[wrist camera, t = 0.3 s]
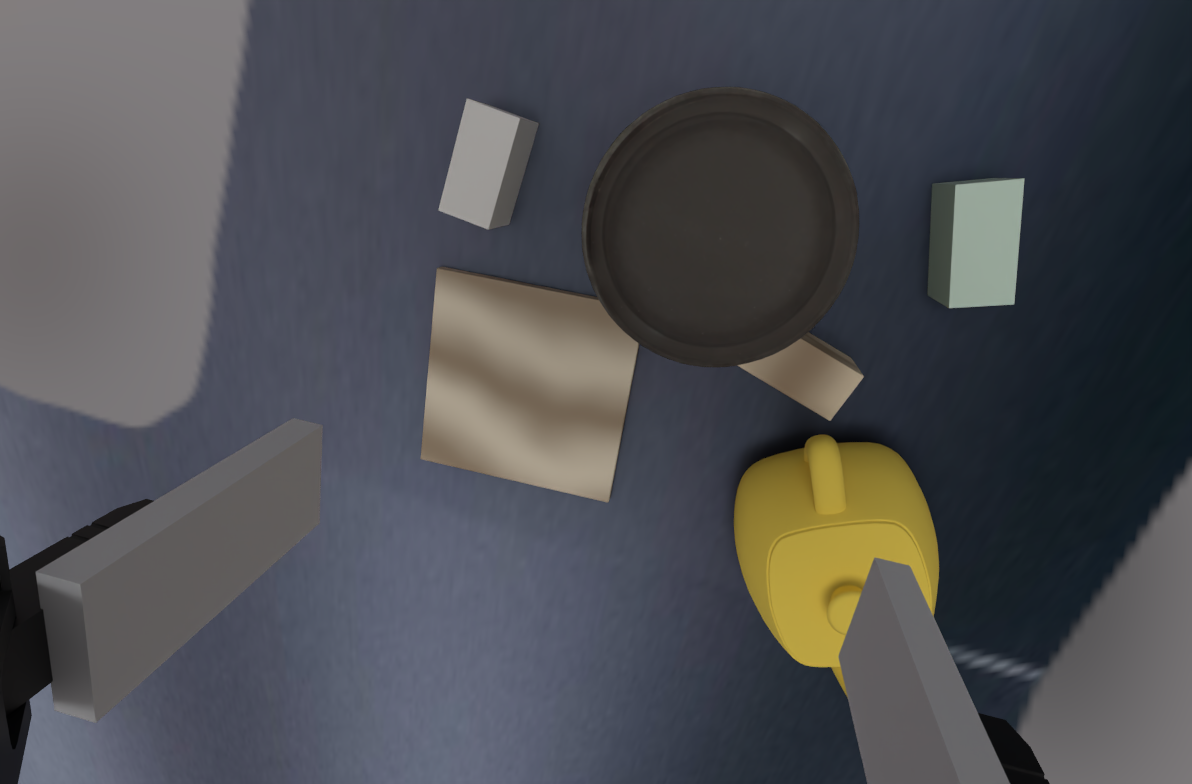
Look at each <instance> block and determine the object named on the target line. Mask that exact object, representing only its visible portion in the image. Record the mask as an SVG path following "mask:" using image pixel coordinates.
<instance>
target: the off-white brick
mask: <svg viewBox="0 0 1192 784" xmlns="http://www.w3.org/2000/svg"><path fill="white" fill-rule="evenodd" d="M538 125H539V123H537V122H534V121H531V120H529V119H526V118H523V117H521V116H518V115H515V114H513V113H510V112H507V111H505V110H502V109H499V108H496V107H494V106H491V105H488V104H484V103H481V102H478V101H474V100H471V99H467V100H466V104H465V108H464V112H463V115H462V119H461V123H460V127H459V131H458V135H457V139H456V143H455V147H454V151H453V155H452V159H451V162H450V166H449V170H448V174H447V178H446V182H445V186H444V190H443V194H442V198H441V202H440V206H439V211H441V212H444V213H446V214H449V215H452V216H454V217H457V218H459V219H462V220H465V221H467V222H470V223H472V224H475V225H478V226H480V227H483V228H485V229H488V230H489V229H493V228H497V227H502V226H506V225H509V224H510V220H511V217H512V214H513V210H514V207H515V203H516V200H517V197H518V193H519V190H520V186H521V183H522V180H523V176H524V173H525V169H526V166H527V163H528V159H529V156H530V152H531V149H532V146H533V142H534V139H535V135H536V132H537V129H538Z"/></svg>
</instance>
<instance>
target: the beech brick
mask: <svg viewBox="0 0 1192 784" xmlns="http://www.w3.org/2000/svg"><path fill="white" fill-rule="evenodd" d="M737 366H739V367H741V368H742V369H744V370H746V371H747V372H749V373H751V374H752V375H754V376H756V377H757V378H759V379H761V380H762V381H764V382H766V383H767V384H769V385H771V386H772V387H774V388H776V389H777V390H779V391H781V392H782V393H784V394H786V395H787V396H789V397H791V398H792V399H794V400H796V401H797V402H799V403H801V404H802V405H804V406H806V407H807V408H809V409H811V410H812V411H814V412H816V413H817V414H819V415H821V416H822V417H824V418H826V419H827V420H829V421H830V420H831V419H832V418H833V417H834V415H835V414H836V413H837V411H838V410H839V409H840V407H841V406H842V405H843V403H844V402H845V401H846V400H847V398H848V397H849V396H850V394H851V393H852V392H853V390H854V389H855V388H856V386H857V385H858V384H859V382H860V381H861V380H862V379H863V377H864V376H863V374H862V373H861V371H860V370H859V369H858V367H857V366H856V364H855V363H854V361H853V360H852V358H851V357H849V356H847V355H846V354H844V353H842V352H841V351H839V350H837V349H836V348H834V347H832V346H831V345H829V344H827V343H826V342H824V341H822V340H821V339H819V338H817V337H816V336H814V335H812V334H811V333H809V332H808V333H806V334H805V335H804V336H803V337H802V338H801V339H799V340H798V341H796V342H795V343H793V344H792V345H790V346H789V347H787V348H785V349H783V350H782V351H780V352H778V353H776V354H774V355H771V356H769V357H766V358H763V359H761V360H757V361H754V362H750V363H746V364H741V365H737Z"/></svg>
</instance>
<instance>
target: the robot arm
mask: <svg viewBox="0 0 1192 784" xmlns="http://www.w3.org/2000/svg"><path fill="white" fill-rule="evenodd" d="M321 455H322V425H319V424H315V423H311V422H307V421H303V420H298V419H294V418H293V419H291V420H289V421H288V422H286V423H284V424H283V425H281V426H279V427H278V428H276V429H274V430H273V431H271V432H269V433H268V434H266V435H264V436H263V437H261V438H259V439H258V440H256V441H254V442H253V443H251V444H249V445H247V446H246V447H244V448H242V449H241V450H239V451H237V452H236V453H234V454H232V455H231V456H229V457H227V458H226V459H224V460H222V461H221V462H219V463H217V464H216V465H214V466H212V467H211V468H209V469H207V470H206V471H204V472H202V473H200V474H199V475H197V476H195V477H194V478H192V479H190V480H189V481H187V482H185V483H184V484H182V485H180V486H179V487H177V488H175V489H174V490H172V491H170V492H169V493H167V494H165V495H164V496H162V497H160V498H159V499H157V500H155V501H152V500H149V499H145V500H142V501H139V502H135V503H132V504H129V505H126V506H123V507H120V508H117V509H115V510H113V511H111V512H109V513H108V514H106V515H104V516H102V517H101V518H99V519H97V520H95V521H94V522H92V524H91V526H88V525H87V526H85V527H83V528H81V529H80V530H78V531H76V532H74V533H73V534H72V536H71V537H66V538H64V539H62V540H60V541H59V542H57V543H55V544H53V545H52V546H50V547H48V548H46V549H45V550H43V551H41V552H39V553H38V554H36V555H34V556H32V557H31V558H29V559H27V560H25V561H24V562H22V563H20V564H18V565H17V566H15V567H13V568H11V569H10V570H9V565H8V558H7V552H6V545H5V539H4V538H3V537H2V536H0V784H18V779H19V774H20V770H21V765H22V760H23V755H24V750H25V745H26V740H27V735H28V731H29V726H30V721H31V716H32V715H31V708H30V701H29V699H30V698H32V697H33V696H34V695H35V694H37V693H38V692H39V691H41V690H42V689H43V688H44V687H46V686H47V685H48V684H50V683H51V687H52V694H53V702H54V709H55V711H58V712H61V713H65V714H68V715H71V716H75V717H78V718H81V719H85V720H88V721H91V722H94V723H96V722H97V721H99V720H100V719H101V718H102V717H103V716H104V715H105V714H106V713H108V712H109V711H110V710H111V709H112V708H113V707H114V706H115V705H116V704H118V703H119V702H120V701H121V700H122V699H123V698H124V697H125V696H127V695H128V694H129V693H130V692H131V691H132V690H133V689H134V688H135V687H137V686H138V685H139V684H140V683H141V682H142V681H143V680H144V679H146V678H147V677H148V676H149V675H150V674H151V673H152V672H153V671H155V670H156V669H157V668H158V667H159V666H160V665H161V664H162V663H163V662H165V661H166V660H167V659H168V658H169V657H170V656H171V655H172V654H174V653H175V652H176V651H177V650H178V649H179V648H180V647H181V646H182V645H184V644H185V643H186V642H187V641H188V640H189V639H190V638H191V637H193V636H194V635H195V634H196V633H197V632H198V631H199V630H200V629H202V628H203V627H204V626H205V625H206V624H207V623H208V622H209V621H210V620H212V619H213V618H214V617H215V616H216V615H217V614H218V613H219V612H221V611H222V610H223V609H224V608H225V607H226V606H227V605H228V604H230V603H231V602H232V601H233V600H234V599H235V598H236V597H237V596H238V595H240V594H241V593H242V592H243V591H244V590H245V589H246V588H247V587H249V586H250V585H251V584H252V583H253V582H254V581H255V580H256V579H257V578H259V577H260V576H261V575H262V574H263V573H264V572H265V571H266V570H268V569H269V568H270V567H271V566H272V565H273V564H274V563H275V562H277V561H278V560H279V559H280V558H281V557H282V556H283V555H284V554H285V553H287V552H288V551H289V550H290V549H291V548H292V547H293V546H294V545H296V544H297V543H298V542H299V541H300V540H301V539H302V538H303V537H304V536H306V535H307V534H308V533H309V532H310V531H311V530H312V529H313V528H315V527H316V526H317V525H318V524H319V517H320V486H321ZM838 657H839V662H840V666H841V670H842V675H843V679H844V683H845V688H846V692H847V696H848V701H849V705H850V709H851V714H852V718H853V722H854V727H855V731H856V735H857V740H858V744H859V749H860V753H861V757H862V762H863V766H864V770H865V775H866V779H867V783H868V784H1049V782H1048V780H1046V779H1044V772H1043V770H1042V769H1041V767H1040V765H1039V763H1038V761H1037V759H1036V757H1035V756H1034V753H1033V751H1032V749H1031V747H1030V746H1029V745H1028V744H1027V743H1026V742H1025V741H1024V740H1023V739H1022V737H1021V736H1020V735H1019V734H1018V733H1017V732H1016V731H1015V730H1014V729H1013V728H1012V727H1011V725H1010V724H1009V723H1008V722H1007V721H1006V720H1003V719H999V718H995V717H992V716H988V715H984V714H980V713H977V711H976V709H975V706H974V704H973V702H972V700H971V698H970V695H969V693H968V691H967V689H966V687H965V685H964V682H963V680H962V678H961V676H960V674H959V672H958V669H957V667H956V665H955V663H954V661H953V658H952V656H951V654H950V652H949V650H948V648H947V645H946V643H945V641H944V639H943V637H942V634H941V632H940V630H939V628H938V626H937V624H936V621H935V619H934V617H933V615H932V613H931V611H930V608H929V606H928V604H927V602H926V600H925V597H924V595H923V593H922V591H921V589H920V587H919V584H918V582H917V580H916V578H915V576H914V573H913V571H912V569H911V567H910V566H909V565H905V564H901V563H896V562H892V561H888V560H884V559H880V558H876V557H874V560H873V563H872V565H871V568H870V571H869V574H868V576H867V579H866V582H865V585H864V587H863V590H862V593H861V595H860V598H859V601H858V604H857V606H856V609H855V612H854V615H853V617H852V620H851V623H850V626H849V628H848V631H847V634H846V636H845V639H844V642H843V645H842V647H841V650H840V653H839V656H838Z"/></svg>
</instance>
